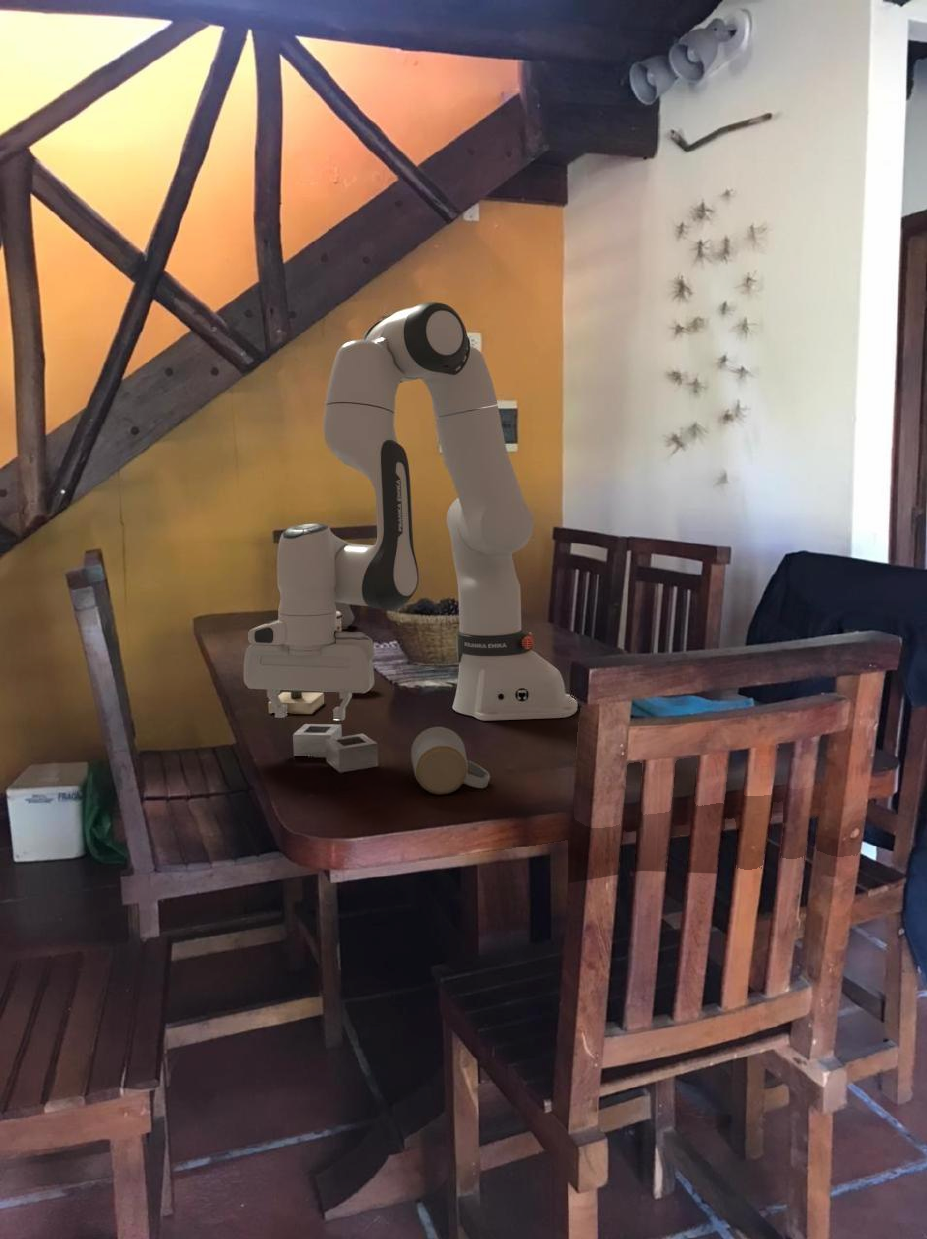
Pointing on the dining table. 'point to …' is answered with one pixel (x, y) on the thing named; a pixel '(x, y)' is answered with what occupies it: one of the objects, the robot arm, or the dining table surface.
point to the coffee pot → (345, 614)
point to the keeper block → (299, 702)
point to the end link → (314, 739)
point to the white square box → (351, 752)
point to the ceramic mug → (444, 762)
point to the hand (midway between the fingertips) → (310, 718)
